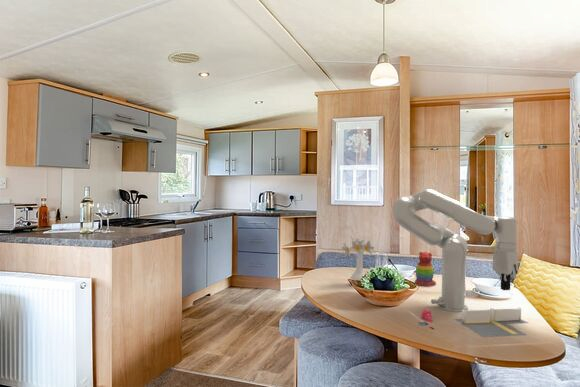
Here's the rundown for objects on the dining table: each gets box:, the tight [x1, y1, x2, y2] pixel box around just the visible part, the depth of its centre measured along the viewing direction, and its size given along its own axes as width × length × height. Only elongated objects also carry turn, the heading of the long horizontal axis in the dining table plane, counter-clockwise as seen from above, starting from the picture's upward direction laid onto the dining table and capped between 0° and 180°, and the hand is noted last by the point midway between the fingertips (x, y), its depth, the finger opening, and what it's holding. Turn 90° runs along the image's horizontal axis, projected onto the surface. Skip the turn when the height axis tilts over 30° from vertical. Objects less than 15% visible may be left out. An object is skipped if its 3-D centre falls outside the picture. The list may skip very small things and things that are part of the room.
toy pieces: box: [418, 309, 436, 330], centre depth 151 cm, size 12×11×4 cm
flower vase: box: [341, 238, 375, 281], centre depth 205 cm, size 13×18×25 cm
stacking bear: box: [414, 251, 437, 287], centre depth 211 cm, size 11×10×18 cm
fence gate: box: [494, 307, 522, 321], centre depth 154 cm, size 12×1×5 cm, turn 99°
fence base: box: [454, 308, 529, 338], centre depth 148 cm, size 28×18×6 cm, turn 99°
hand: (505, 289), depth 160 cm, fingers closed
